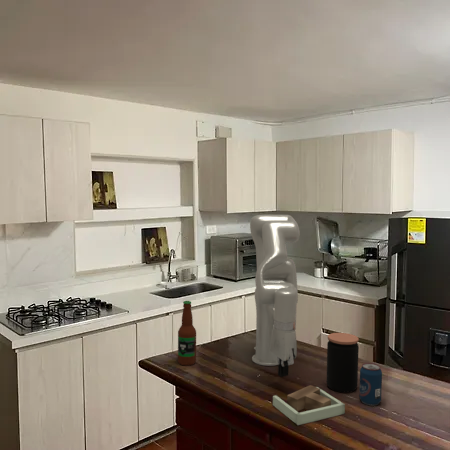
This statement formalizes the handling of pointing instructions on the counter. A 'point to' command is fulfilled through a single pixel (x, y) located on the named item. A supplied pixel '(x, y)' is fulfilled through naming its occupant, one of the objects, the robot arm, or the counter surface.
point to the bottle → (187, 337)
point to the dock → (310, 415)
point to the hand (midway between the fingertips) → (283, 375)
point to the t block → (307, 399)
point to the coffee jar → (342, 362)
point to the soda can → (370, 384)
